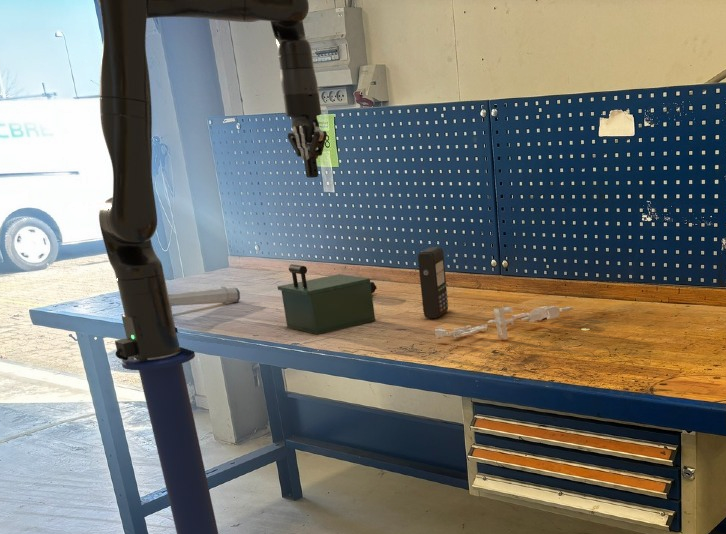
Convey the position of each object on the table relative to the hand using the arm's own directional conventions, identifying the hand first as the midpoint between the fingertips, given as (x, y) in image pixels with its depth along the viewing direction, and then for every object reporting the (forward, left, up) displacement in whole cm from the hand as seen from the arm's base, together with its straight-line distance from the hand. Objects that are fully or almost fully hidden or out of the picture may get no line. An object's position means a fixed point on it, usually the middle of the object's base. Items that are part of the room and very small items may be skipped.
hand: (312, 177), depth 188 cm
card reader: (+16, -19, -32) cm, 41 cm away
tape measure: (+20, +16, -32) cm, 41 cm away
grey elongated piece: (+13, -44, -32) cm, 56 cm away
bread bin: (-3, -4, -32) cm, 32 cm away
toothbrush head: (-14, +43, -32) cm, 56 cm away
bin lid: (-3, -4, -23) cm, 24 cm away
